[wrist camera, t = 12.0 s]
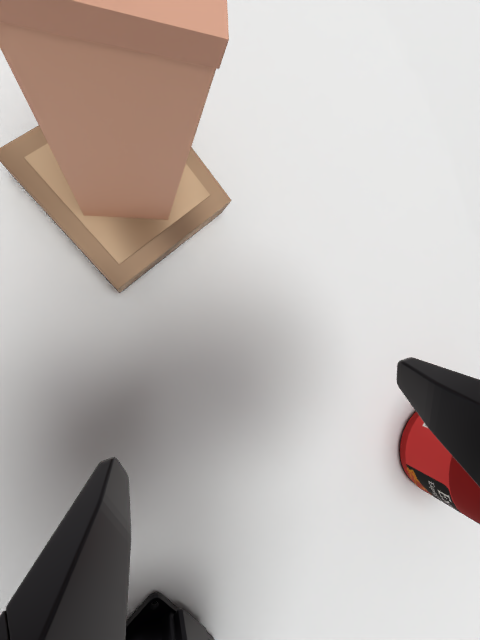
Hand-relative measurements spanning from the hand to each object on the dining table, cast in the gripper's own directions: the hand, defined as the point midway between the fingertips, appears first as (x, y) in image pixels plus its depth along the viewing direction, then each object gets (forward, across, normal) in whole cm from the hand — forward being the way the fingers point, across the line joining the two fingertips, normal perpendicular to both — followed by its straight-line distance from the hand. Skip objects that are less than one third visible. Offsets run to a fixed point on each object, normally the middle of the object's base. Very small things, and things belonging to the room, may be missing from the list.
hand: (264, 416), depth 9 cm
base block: (+16, +4, -6) cm, 17 cm away
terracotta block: (+14, +3, -7) cm, 16 cm away
